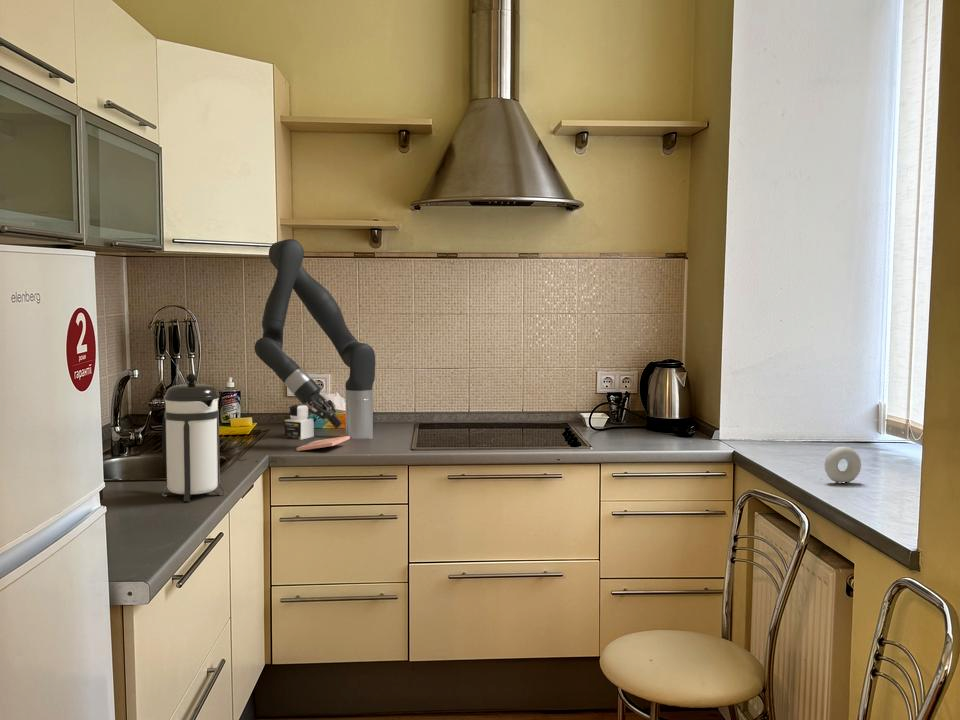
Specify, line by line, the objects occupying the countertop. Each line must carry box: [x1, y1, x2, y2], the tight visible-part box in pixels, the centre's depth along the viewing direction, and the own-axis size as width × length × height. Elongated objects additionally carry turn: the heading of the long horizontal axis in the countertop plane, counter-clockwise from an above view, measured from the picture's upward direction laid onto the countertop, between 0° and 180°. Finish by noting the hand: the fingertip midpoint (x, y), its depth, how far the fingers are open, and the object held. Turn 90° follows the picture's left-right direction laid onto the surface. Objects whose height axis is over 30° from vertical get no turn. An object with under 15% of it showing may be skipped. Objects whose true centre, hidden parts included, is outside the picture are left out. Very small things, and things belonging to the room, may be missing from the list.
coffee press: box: [160, 373, 226, 503], centre depth 210 cm, size 17×16×30 cm
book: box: [296, 435, 351, 452], centre depth 271 cm, size 14×1×12 cm
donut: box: [824, 446, 862, 483], centre depth 229 cm, size 10×4×10 cm, turn 98°
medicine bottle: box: [283, 404, 315, 441], centre depth 292 cm, size 7×7×12 cm
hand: (339, 425), depth 270 cm, fingers closed
